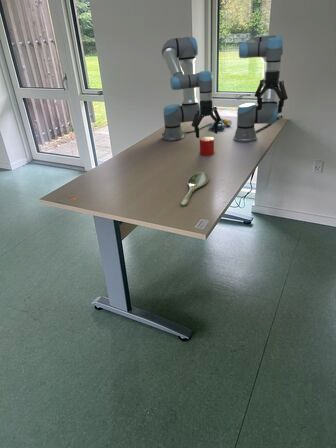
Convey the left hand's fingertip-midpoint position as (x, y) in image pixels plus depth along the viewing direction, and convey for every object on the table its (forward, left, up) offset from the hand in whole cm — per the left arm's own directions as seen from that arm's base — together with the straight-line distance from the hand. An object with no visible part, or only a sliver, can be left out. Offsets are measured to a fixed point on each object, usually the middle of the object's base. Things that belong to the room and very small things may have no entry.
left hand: (206, 135), depth 208 cm
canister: (0, 0, -12) cm, 12 cm away
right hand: (-25, +26, +14) cm, 39 cm away
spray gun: (-44, -44, -12) cm, 63 cm away
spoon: (+36, +40, -12) cm, 55 cm away
